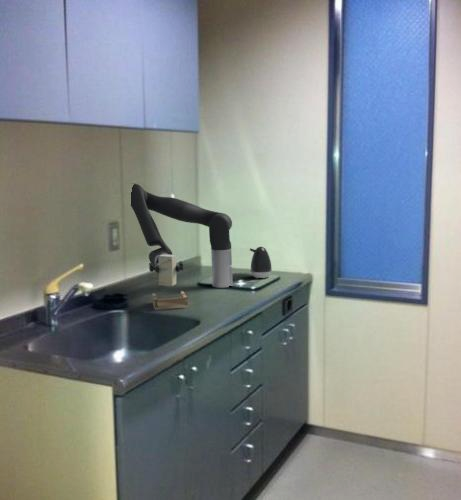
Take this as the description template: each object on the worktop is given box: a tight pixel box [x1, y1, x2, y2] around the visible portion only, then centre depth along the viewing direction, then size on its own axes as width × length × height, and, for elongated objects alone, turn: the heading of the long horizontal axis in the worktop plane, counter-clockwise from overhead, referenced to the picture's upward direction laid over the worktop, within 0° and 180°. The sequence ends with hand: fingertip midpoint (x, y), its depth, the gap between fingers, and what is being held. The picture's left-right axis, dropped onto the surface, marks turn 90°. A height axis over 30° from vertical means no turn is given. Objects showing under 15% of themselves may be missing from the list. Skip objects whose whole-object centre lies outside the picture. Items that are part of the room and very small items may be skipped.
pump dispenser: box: [249, 246, 273, 279], centre depth 307 cm, size 10×10×15 cm
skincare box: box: [158, 254, 177, 287], centre depth 256 cm, size 6×4×12 cm
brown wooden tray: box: [151, 290, 189, 311], centre depth 258 cm, size 13×13×4 cm
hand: (168, 269), depth 254 cm, fingers closed on skincare box, 7 cm apart
